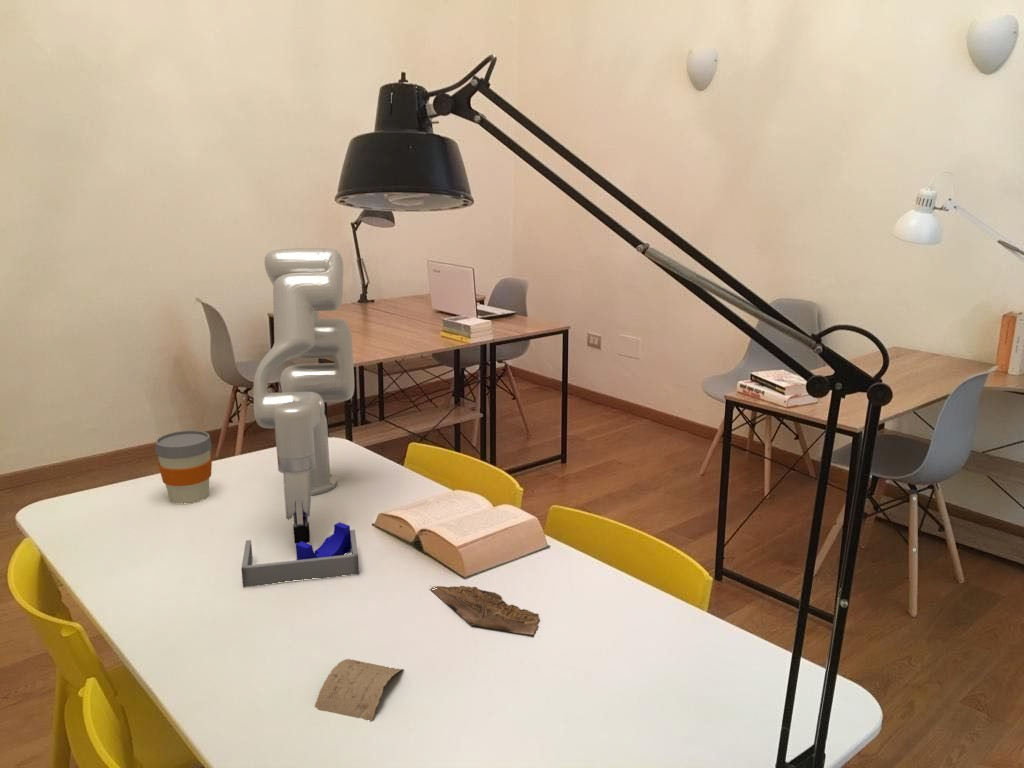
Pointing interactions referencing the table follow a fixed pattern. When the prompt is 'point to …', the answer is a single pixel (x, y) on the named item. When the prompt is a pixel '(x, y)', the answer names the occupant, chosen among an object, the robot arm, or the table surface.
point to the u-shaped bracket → (298, 567)
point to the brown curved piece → (354, 688)
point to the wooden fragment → (488, 609)
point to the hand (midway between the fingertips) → (302, 541)
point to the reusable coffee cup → (185, 465)
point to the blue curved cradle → (327, 544)
